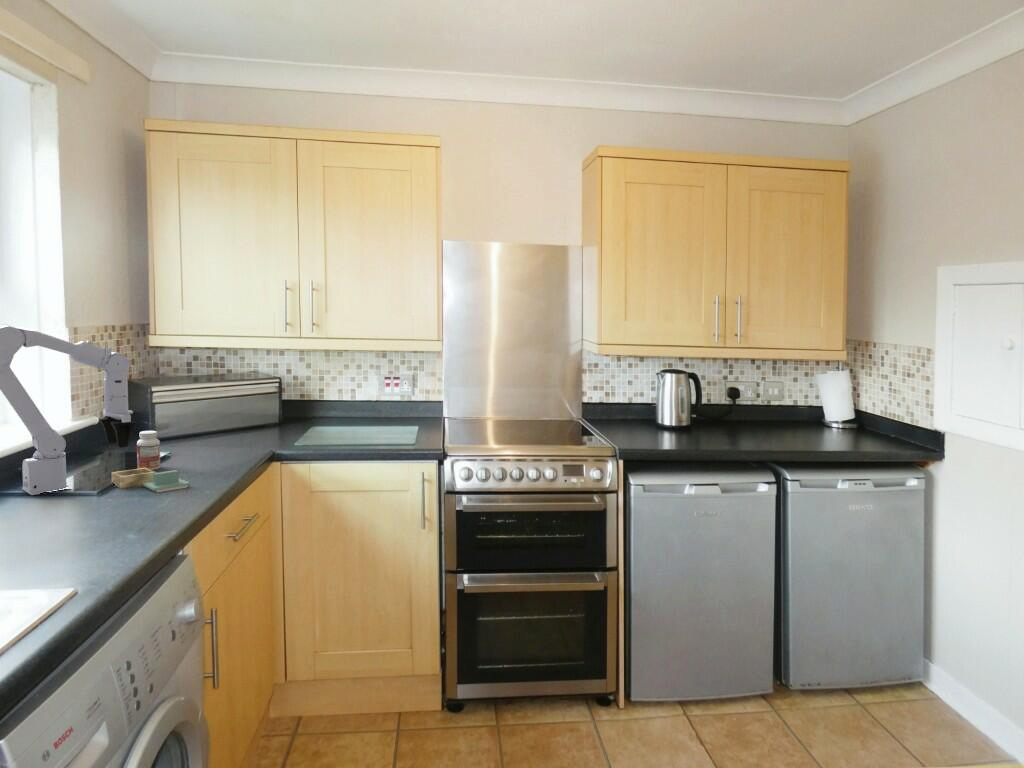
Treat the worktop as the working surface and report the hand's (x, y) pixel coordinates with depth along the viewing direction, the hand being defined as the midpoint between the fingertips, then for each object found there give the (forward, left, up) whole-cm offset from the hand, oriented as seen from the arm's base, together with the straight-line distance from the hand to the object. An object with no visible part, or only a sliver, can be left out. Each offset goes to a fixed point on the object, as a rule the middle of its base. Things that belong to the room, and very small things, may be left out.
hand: (117, 444), depth 203 cm
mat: (+7, -15, -10) cm, 19 cm away
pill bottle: (+12, +10, -10) cm, 19 cm away
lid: (+7, -15, -10) cm, 19 cm away
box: (+2, -6, -10) cm, 12 cm away
